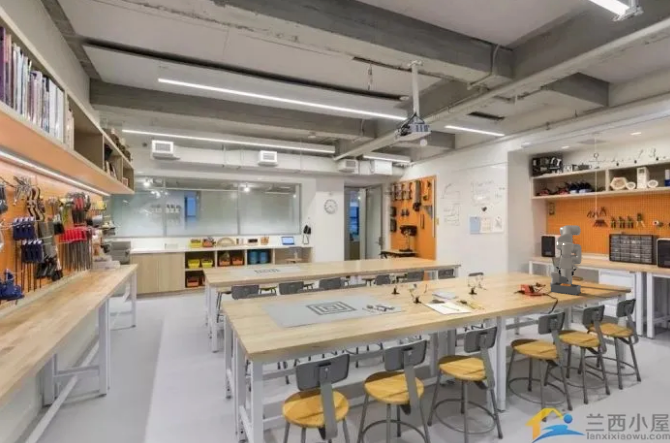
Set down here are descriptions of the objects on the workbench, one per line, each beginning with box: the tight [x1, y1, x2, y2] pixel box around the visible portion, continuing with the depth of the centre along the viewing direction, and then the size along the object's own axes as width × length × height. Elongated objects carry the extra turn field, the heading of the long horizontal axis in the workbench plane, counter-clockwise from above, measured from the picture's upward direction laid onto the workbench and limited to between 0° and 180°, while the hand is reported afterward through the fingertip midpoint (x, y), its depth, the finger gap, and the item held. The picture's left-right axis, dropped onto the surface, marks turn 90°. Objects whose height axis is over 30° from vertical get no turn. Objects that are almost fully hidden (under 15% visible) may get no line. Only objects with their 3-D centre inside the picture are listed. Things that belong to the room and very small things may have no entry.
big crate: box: [550, 282, 582, 297], centre depth 319 cm, size 18×20×7 cm
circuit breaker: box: [549, 271, 568, 288], centre depth 340 cm, size 8×14×15 cm, turn 64°
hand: (566, 274), depth 320 cm, fingers open, 9 cm apart
